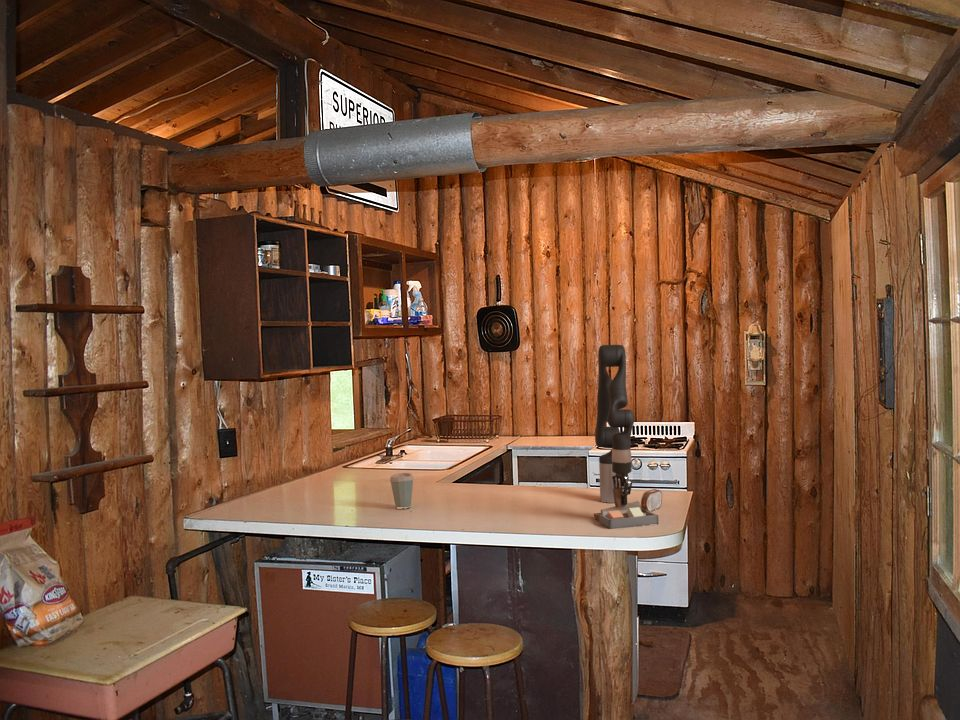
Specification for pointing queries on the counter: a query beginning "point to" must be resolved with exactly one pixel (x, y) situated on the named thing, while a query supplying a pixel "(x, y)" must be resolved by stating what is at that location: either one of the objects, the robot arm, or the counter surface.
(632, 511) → the cream block
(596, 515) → the walnut board
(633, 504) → the cube on grey rod
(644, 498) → the tin
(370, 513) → the counter surface
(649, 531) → the counter surface
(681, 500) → the counter surface
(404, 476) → the disposable coffee cup
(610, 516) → the salmon pink cube
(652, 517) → the box
